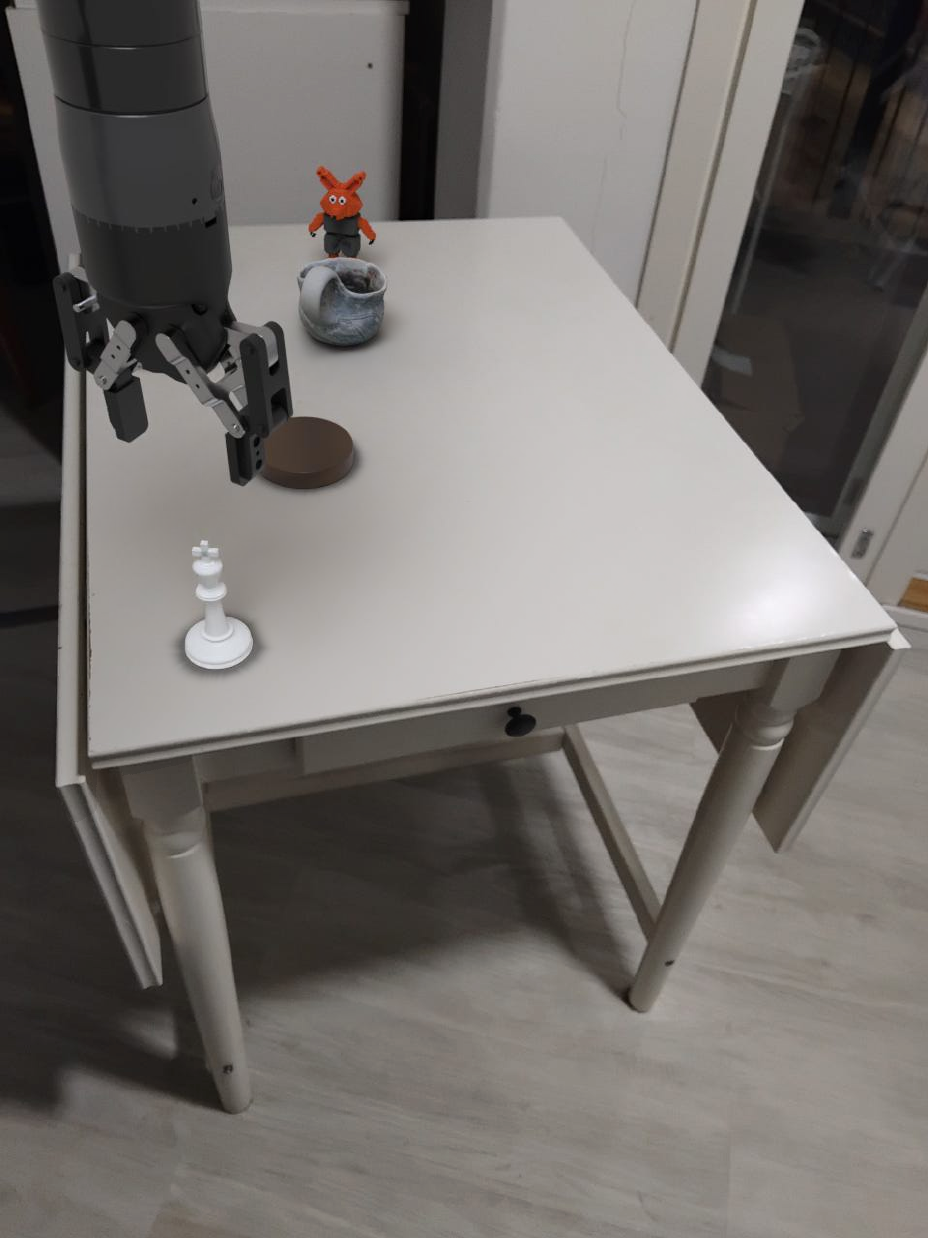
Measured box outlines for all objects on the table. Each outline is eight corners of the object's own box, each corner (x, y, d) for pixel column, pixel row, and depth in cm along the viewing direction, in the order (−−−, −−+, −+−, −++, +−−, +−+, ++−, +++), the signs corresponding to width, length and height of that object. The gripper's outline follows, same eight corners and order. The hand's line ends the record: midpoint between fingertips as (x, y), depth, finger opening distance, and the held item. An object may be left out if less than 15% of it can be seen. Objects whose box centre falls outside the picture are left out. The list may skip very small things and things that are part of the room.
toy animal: (302, 282, 113) (297, 178, 105) (313, 263, 117) (309, 161, 109) (368, 291, 113) (369, 187, 104) (376, 271, 117) (378, 170, 108)
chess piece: (246, 671, 69) (234, 569, 62) (178, 667, 69) (158, 564, 62) (258, 624, 72) (247, 522, 65) (193, 619, 72) (175, 517, 65)
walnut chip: (273, 497, 83) (272, 481, 82) (242, 443, 89) (240, 426, 88) (368, 476, 87) (368, 460, 86) (332, 424, 92) (331, 408, 91)
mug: (394, 323, 108) (397, 236, 101) (369, 379, 99) (370, 287, 92) (312, 310, 108) (309, 223, 101) (279, 365, 99) (273, 273, 92)
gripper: (-19, 179, 47) (56, 451, 58) (220, 251, 43) (250, 527, 55) (87, 137, 52) (136, 396, 63) (309, 199, 48) (319, 462, 59)
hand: (189, 456), depth 59 cm, fingers open, 8 cm apart
